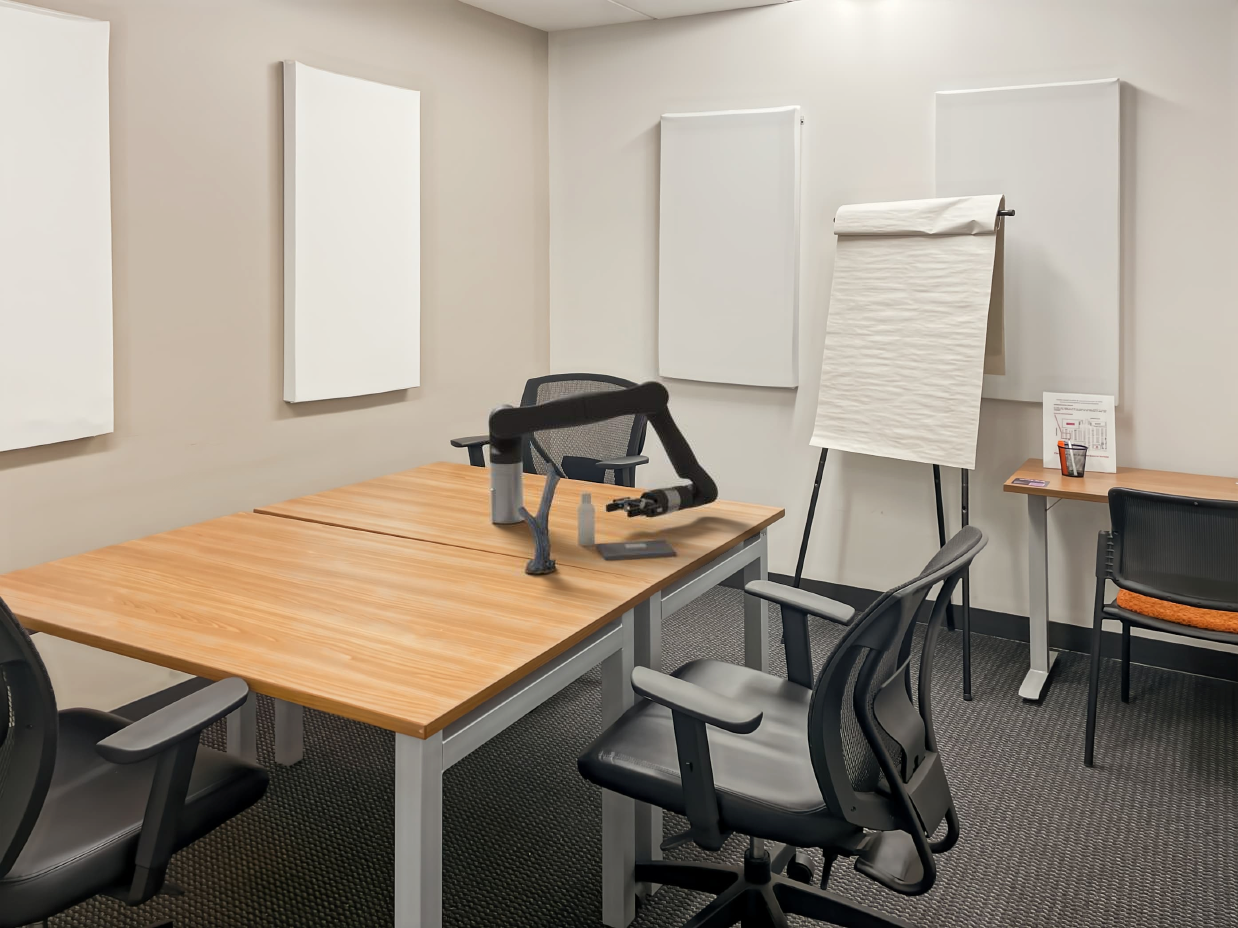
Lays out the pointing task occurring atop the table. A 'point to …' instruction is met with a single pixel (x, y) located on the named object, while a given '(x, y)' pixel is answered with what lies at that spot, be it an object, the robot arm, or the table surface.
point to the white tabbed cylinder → (586, 521)
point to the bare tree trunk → (542, 526)
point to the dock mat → (635, 549)
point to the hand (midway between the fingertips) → (617, 511)
